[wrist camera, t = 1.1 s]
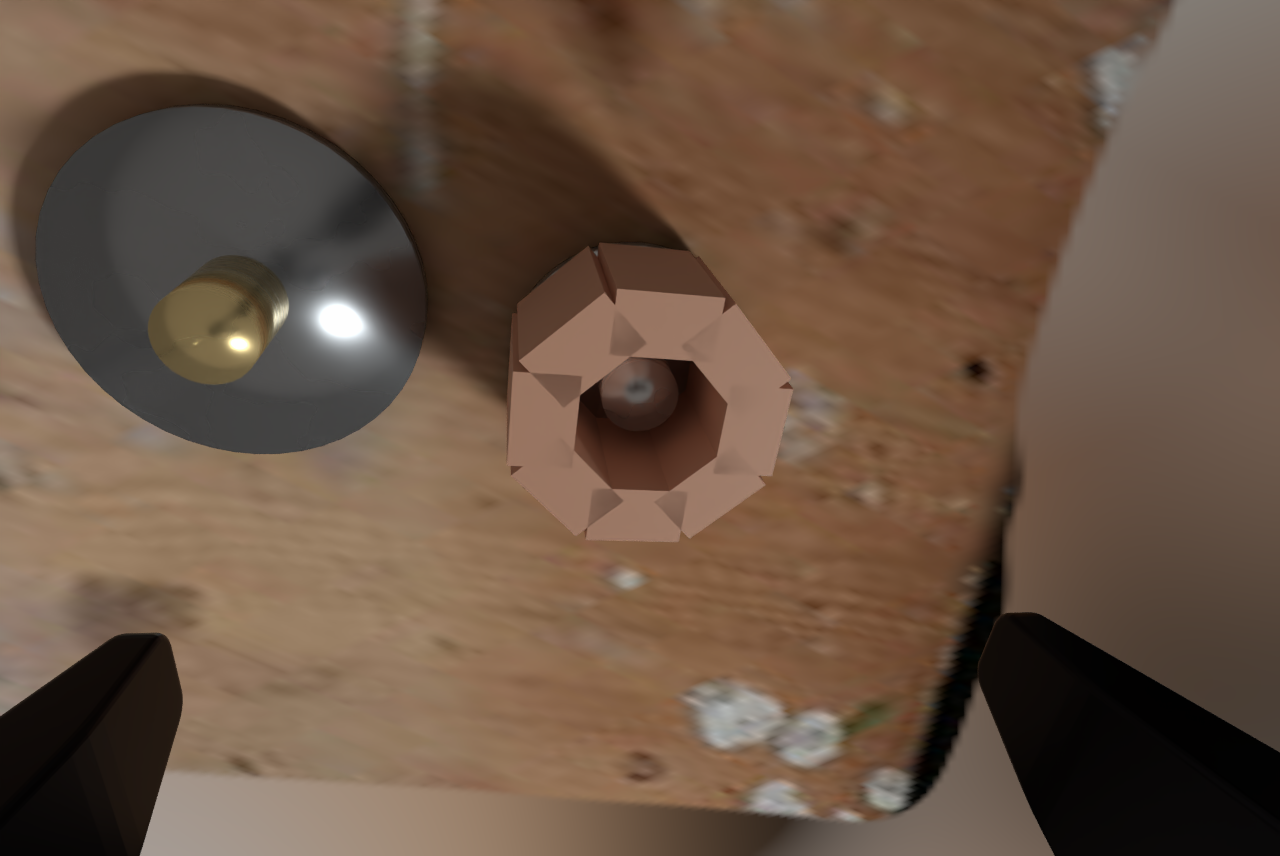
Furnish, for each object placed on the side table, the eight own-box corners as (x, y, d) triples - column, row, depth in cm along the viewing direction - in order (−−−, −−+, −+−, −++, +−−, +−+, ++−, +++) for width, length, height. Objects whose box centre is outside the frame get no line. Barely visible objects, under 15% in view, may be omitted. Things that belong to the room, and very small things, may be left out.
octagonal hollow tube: (765, 258, 19) (814, 305, 16) (720, 468, 22) (755, 543, 19) (517, 234, 18) (518, 280, 15) (502, 459, 20) (501, 538, 17)
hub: (429, 129, 17) (415, 151, 14) (426, 449, 20) (414, 513, 18) (11, 78, 15) (-92, 92, 13) (87, 434, 19) (20, 502, 16)
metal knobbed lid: (759, 253, 19) (790, 283, 17) (717, 461, 22) (739, 508, 20) (517, 229, 18) (517, 258, 16) (503, 452, 21) (502, 501, 19)
